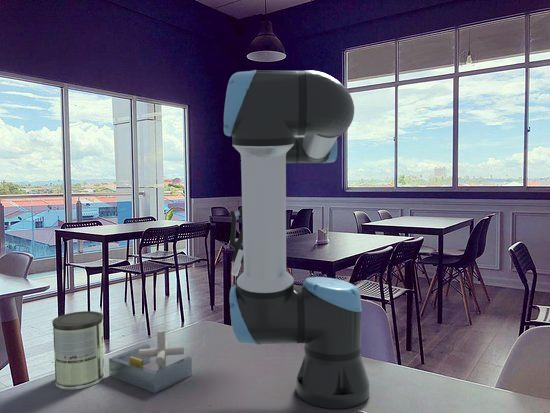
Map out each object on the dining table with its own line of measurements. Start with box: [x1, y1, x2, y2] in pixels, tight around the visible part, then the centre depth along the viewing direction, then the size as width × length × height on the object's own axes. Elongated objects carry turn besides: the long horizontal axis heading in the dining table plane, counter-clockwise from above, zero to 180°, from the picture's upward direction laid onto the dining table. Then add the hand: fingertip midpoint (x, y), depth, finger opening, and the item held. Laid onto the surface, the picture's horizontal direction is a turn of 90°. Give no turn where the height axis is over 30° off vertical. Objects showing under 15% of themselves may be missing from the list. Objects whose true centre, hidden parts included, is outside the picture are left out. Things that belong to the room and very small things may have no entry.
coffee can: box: [51, 310, 106, 391], centre depth 101 cm, size 10×10×14 cm
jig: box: [108, 344, 193, 394], centre depth 103 cm, size 15×11×5 cm
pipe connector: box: [139, 328, 185, 370], centre depth 103 cm, size 10×10×10 cm
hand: (234, 274), depth 118 cm, fingers closed
